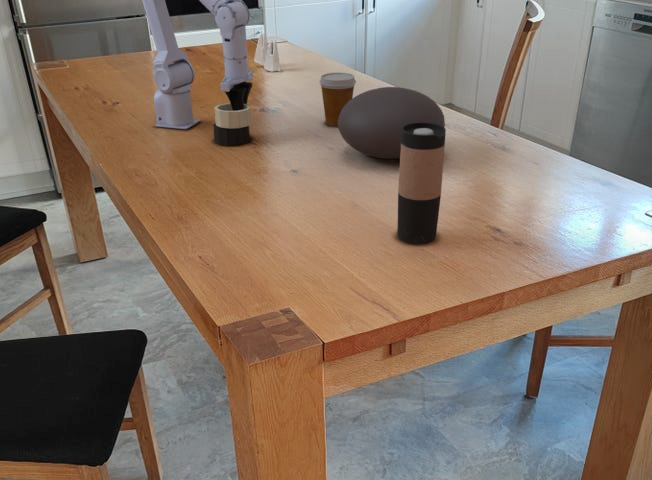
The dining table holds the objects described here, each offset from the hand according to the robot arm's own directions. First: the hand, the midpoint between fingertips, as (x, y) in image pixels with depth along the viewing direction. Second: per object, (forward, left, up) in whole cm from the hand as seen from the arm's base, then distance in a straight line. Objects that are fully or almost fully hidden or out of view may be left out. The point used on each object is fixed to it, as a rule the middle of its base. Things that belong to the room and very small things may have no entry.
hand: (239, 114), depth 182 cm
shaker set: (-23, +70, -6) cm, 74 cm away
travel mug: (+57, -45, -6) cm, 73 cm away
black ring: (-1, -4, -6) cm, 7 cm away
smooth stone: (+40, -2, -6) cm, 40 cm away
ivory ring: (0, -4, -1) cm, 4 cm away
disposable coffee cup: (+20, +18, -6) cm, 28 cm away
